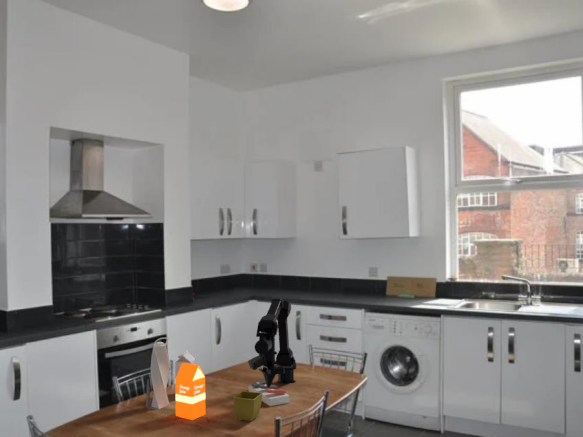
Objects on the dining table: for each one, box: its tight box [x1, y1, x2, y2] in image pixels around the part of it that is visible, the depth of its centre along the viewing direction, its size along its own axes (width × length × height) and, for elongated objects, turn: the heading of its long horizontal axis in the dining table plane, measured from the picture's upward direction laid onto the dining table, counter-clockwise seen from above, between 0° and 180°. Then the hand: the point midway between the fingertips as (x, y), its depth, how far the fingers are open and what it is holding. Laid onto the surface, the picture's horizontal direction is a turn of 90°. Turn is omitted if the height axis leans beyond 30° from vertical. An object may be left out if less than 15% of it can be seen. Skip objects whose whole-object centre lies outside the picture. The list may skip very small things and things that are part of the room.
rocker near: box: [251, 378, 266, 388], centre depth 235 cm, size 8×4×1 cm, turn 118°
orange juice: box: [175, 363, 207, 421], centre depth 208 cm, size 8×9×20 cm
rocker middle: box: [258, 384, 280, 389], centre depth 229 cm, size 8×4×1 cm, turn 118°
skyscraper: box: [145, 337, 170, 411], centre depth 219 cm, size 8×8×28 cm
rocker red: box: [265, 388, 287, 394], centre depth 223 cm, size 8×4×1 cm, turn 118°
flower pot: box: [232, 390, 263, 422], centre depth 203 cm, size 9×9×9 cm
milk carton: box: [174, 349, 197, 390], centre depth 235 cm, size 7×7×19 cm
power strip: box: [248, 384, 290, 407], centre depth 231 cm, size 9×28×3 cm, turn 28°
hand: (268, 386), depth 221 cm, fingers closed
